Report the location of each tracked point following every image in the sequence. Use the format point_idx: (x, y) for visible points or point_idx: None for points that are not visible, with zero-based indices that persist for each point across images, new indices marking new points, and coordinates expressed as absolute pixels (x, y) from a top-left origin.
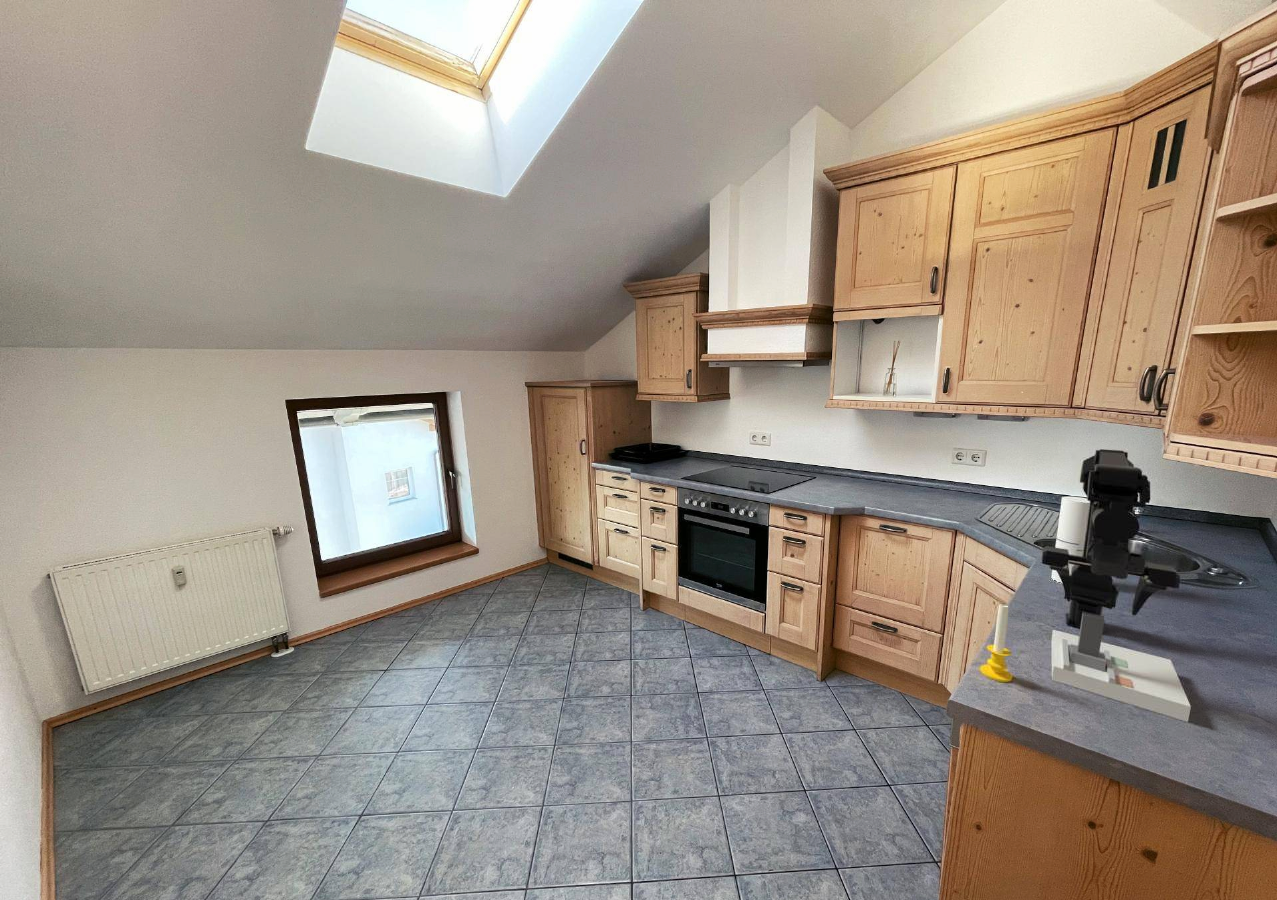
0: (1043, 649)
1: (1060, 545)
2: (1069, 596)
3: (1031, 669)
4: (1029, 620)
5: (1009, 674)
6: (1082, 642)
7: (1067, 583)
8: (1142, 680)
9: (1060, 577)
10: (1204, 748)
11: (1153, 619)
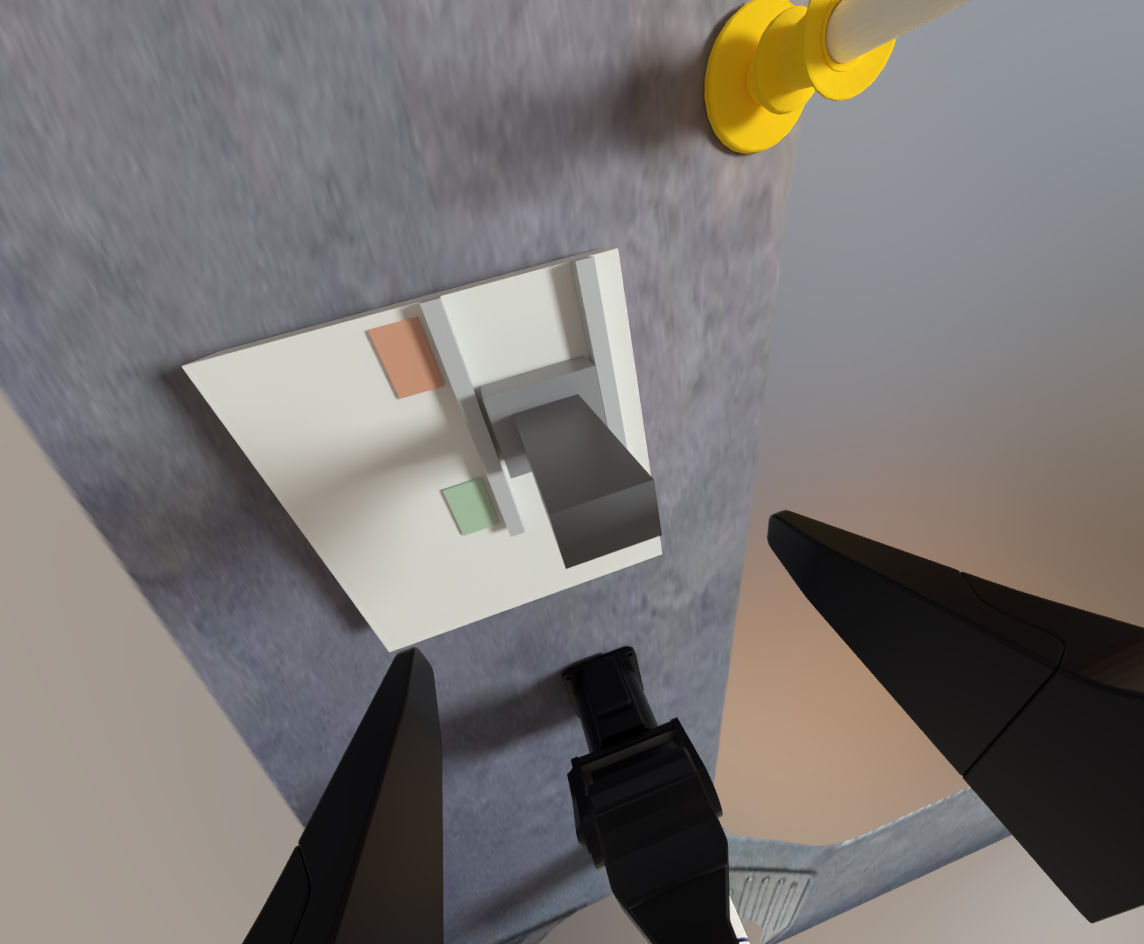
0: (652, 461)
1: (731, 919)
2: (811, 532)
3: (660, 273)
4: (702, 595)
5: (720, 103)
6: (582, 413)
7: (973, 604)
8: (377, 438)
9: (1123, 622)
10: (70, 163)
11: (507, 806)
